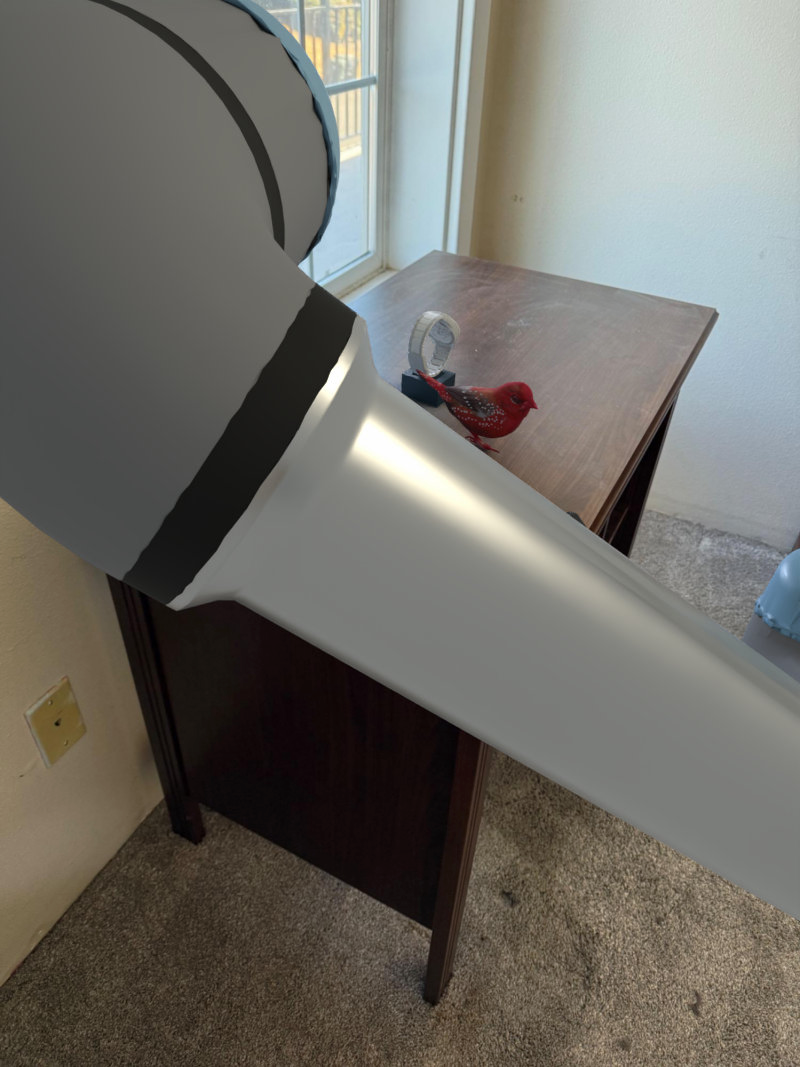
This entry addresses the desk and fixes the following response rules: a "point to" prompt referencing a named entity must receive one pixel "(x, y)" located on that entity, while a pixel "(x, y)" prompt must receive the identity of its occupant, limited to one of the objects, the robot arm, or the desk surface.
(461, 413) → the decorative bird figurine
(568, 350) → the desk surface
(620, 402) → the desk surface
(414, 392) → the watch
